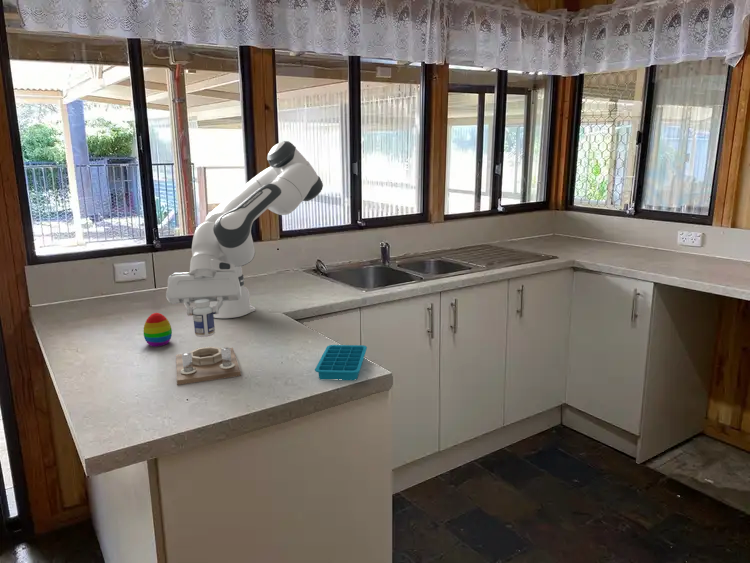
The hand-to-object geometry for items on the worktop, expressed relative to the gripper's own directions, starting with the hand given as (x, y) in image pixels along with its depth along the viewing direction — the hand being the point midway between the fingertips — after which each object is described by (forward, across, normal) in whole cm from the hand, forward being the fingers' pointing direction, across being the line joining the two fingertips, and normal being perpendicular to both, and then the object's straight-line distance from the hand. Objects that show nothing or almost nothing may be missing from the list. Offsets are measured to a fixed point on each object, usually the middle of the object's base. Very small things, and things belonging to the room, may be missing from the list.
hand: (202, 314), depth 153 cm
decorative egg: (-4, -18, +25) cm, 31 cm away
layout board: (+12, 0, +9) cm, 15 cm away
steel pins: (+15, +1, +4) cm, 15 cm away
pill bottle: (+4, 0, +5) cm, 6 cm away
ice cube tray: (+17, +38, +5) cm, 41 cm away
